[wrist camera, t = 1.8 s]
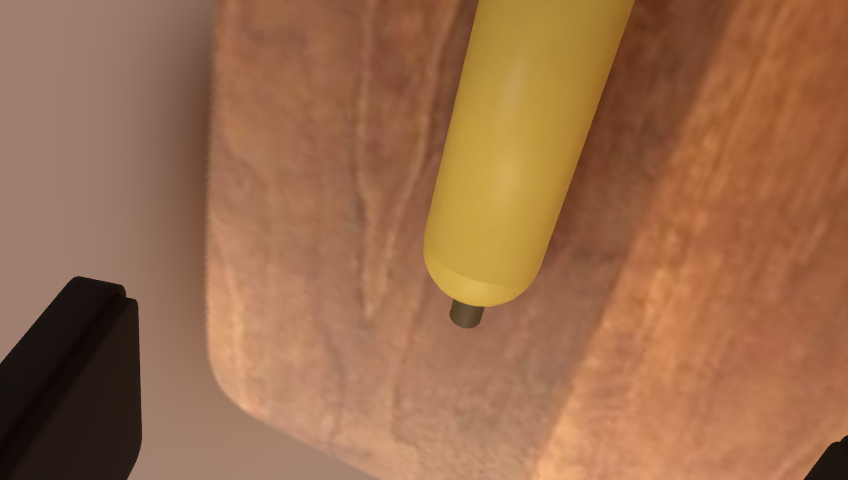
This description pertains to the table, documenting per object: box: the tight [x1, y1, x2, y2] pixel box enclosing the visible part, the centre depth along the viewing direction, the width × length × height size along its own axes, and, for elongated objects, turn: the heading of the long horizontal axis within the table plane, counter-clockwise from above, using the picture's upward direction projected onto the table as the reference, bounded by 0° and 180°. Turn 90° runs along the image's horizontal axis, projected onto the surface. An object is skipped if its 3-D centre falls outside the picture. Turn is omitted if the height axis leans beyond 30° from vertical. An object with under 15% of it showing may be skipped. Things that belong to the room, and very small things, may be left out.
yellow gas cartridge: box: [423, 0, 635, 328], centre depth 19 cm, size 14×4×4 cm
